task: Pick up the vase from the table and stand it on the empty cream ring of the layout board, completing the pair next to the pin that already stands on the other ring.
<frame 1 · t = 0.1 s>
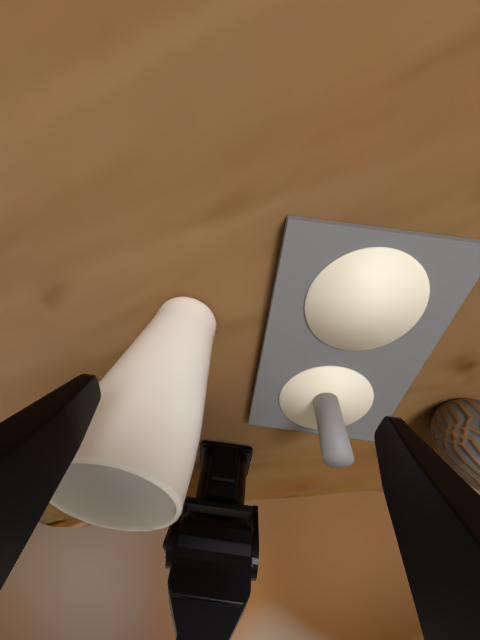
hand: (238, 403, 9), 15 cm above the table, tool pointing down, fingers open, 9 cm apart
white tapered cylinder: (188, 318, 25), on the table
vase: (455, 409, 29), on the table
layout board: (339, 349, 25), on the table
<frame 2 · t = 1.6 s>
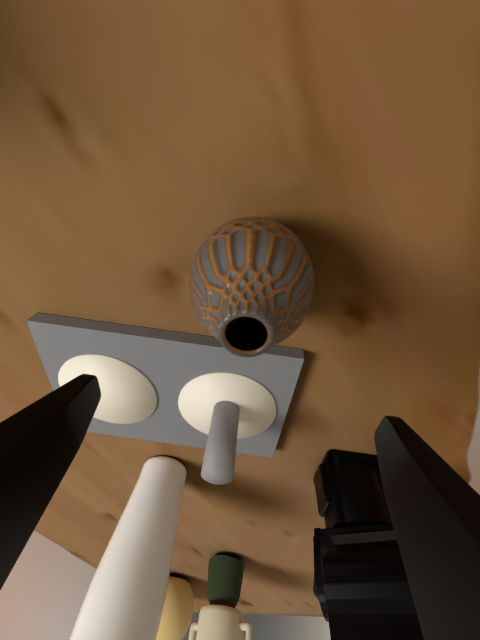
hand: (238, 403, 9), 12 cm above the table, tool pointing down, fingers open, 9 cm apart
sculpture: (169, 576, 59), on the table
white tapered cylinder: (167, 464, 34), on the table
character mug: (227, 555, 50), on the table
vase: (254, 258, 19), on the table
layout board: (171, 389, 26), on the table
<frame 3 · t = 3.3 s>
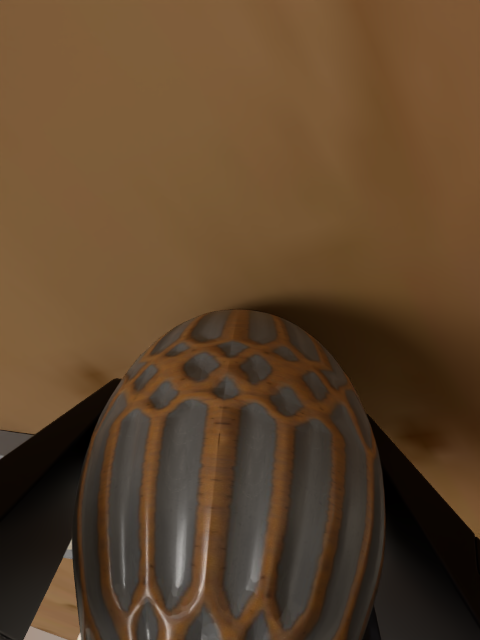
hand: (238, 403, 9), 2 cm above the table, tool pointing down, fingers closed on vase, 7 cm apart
vase: (244, 357, 10), on the table, touching gripper
layout board: (128, 507, 18), on the table
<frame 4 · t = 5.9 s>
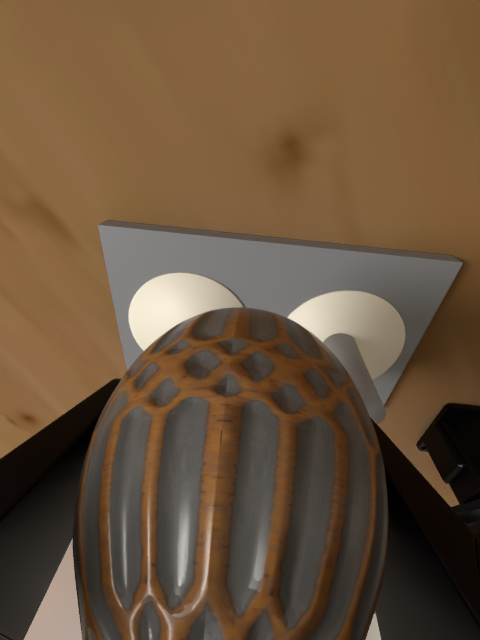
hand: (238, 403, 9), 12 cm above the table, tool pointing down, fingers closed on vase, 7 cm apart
vase: (245, 355, 10), point 10 cm above the table, touching gripper
layout board: (263, 327, 21), on the table
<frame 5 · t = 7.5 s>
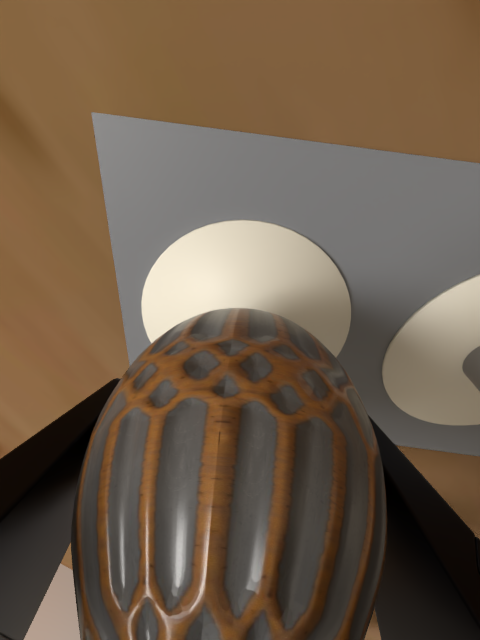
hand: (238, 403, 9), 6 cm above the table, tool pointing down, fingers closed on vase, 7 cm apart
vase: (244, 356, 10), point 3 cm above the table, touching gripper
layout board: (359, 325, 13), on the table
when the fingers open (5 cm above the table, at t = 8.6 s): vase drops 1 cm, resting on layout board.
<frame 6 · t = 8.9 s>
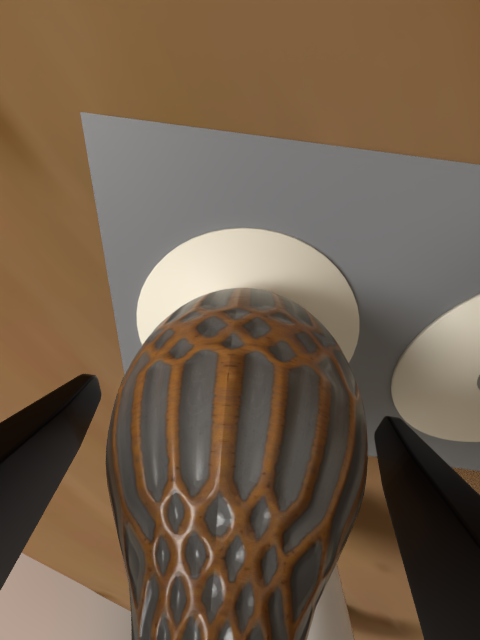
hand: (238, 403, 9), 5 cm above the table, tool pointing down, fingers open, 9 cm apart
white tapered cylinder: (284, 484, 20), on the table
vase: (246, 336, 12), point 1 cm above the table, touching layout board
layout board: (366, 337, 13), on the table
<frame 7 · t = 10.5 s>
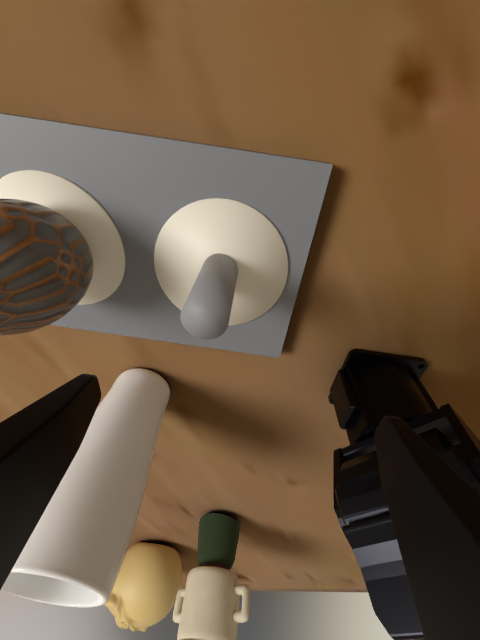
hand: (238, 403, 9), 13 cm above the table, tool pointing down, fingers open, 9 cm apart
sculpture: (155, 545, 53), on the table
white tapered cylinder: (146, 383, 28), on the table
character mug: (220, 515, 43), on the table
vase: (59, 244, 19), point 1 cm above the table, touching layout board
layout board: (146, 251, 20), on the table
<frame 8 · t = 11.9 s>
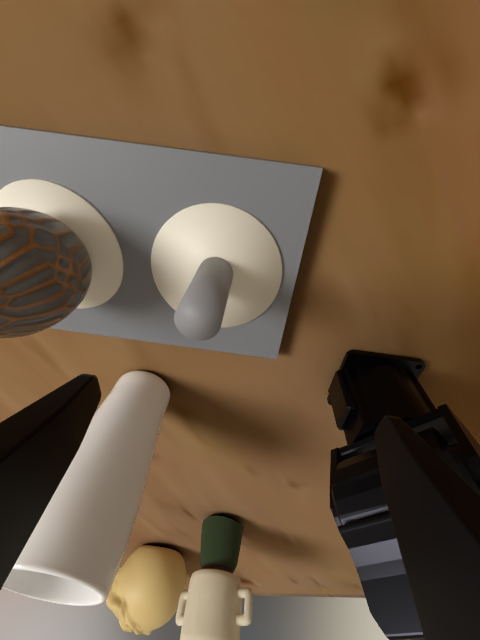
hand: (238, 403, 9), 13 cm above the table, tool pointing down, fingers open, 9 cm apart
sculpture: (159, 548, 53), on the table
white tapered cylinder: (146, 385, 28), on the table
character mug: (223, 518, 43), on the table
vase: (60, 250, 19), point 1 cm above the table, touching layout board
layout board: (144, 255, 20), on the table
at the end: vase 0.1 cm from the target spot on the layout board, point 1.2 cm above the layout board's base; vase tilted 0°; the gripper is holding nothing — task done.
